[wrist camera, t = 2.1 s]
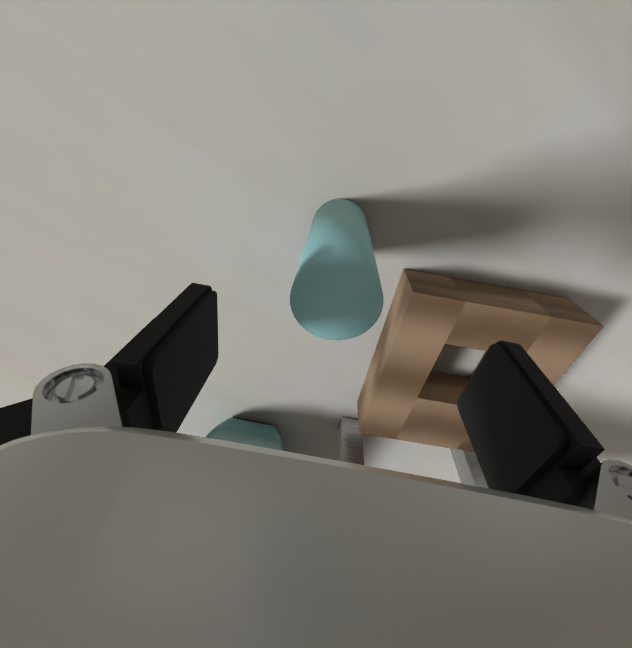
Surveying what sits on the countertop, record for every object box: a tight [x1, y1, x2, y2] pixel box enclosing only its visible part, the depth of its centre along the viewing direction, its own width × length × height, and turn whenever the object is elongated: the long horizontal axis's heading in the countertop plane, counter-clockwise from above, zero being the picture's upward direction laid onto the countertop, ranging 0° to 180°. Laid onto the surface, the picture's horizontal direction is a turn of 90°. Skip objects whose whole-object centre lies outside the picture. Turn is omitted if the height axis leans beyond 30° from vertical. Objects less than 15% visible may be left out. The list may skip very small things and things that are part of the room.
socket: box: [357, 269, 603, 452], centre depth 24 cm, size 14×12×4 cm
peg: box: [290, 199, 383, 340], centre depth 16 cm, size 4×4×10 cm
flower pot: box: [206, 418, 284, 451], centre depth 30 cm, size 9×9×9 cm
